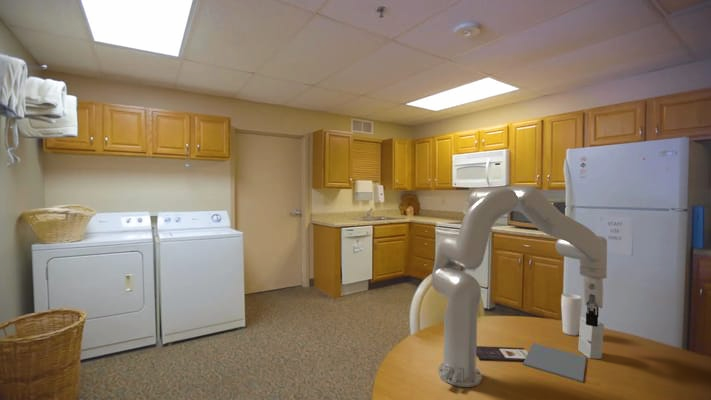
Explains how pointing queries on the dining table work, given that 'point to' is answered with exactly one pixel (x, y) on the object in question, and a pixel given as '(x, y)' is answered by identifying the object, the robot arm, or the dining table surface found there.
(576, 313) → the white hollow tapered cylinder
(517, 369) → the dining table surface
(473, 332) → the robot arm
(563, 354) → the mat
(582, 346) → the skincare box
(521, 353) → the chocolate bar
